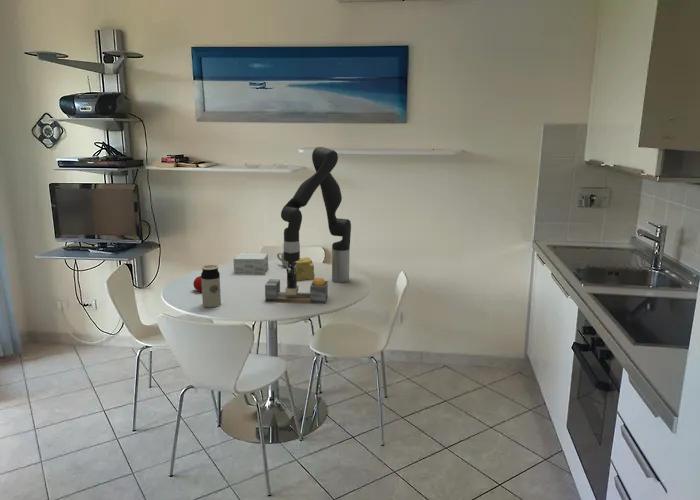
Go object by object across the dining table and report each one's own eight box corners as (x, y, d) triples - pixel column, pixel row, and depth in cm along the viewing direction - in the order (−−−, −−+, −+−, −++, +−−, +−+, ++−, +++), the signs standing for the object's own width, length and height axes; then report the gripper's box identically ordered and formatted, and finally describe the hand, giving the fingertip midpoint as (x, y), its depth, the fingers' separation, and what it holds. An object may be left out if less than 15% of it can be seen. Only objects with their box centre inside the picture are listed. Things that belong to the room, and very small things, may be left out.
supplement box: (268, 269, 296) (268, 253, 294) (264, 275, 283) (264, 258, 281) (239, 268, 296) (238, 252, 294) (233, 274, 283) (233, 258, 281)
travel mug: (202, 303, 237) (200, 265, 233) (219, 301, 240) (218, 263, 235) (203, 308, 230) (201, 269, 225) (221, 306, 232) (220, 268, 228)
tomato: (216, 289, 256) (215, 274, 254) (202, 294, 249) (201, 278, 247) (203, 286, 261) (202, 271, 259) (189, 291, 253) (188, 275, 251)
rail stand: (269, 294, 250) (269, 279, 248) (327, 296, 248) (327, 280, 246) (265, 301, 240) (264, 285, 238) (325, 303, 238) (325, 287, 237)
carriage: (288, 289, 247) (287, 272, 245) (298, 290, 247) (298, 273, 245) (285, 294, 240) (285, 276, 238) (296, 294, 240) (295, 277, 238)
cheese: (314, 279, 277) (314, 261, 274) (295, 281, 273) (295, 263, 270) (308, 274, 286) (308, 256, 284) (290, 276, 282) (289, 258, 280)
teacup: (303, 265, 303) (303, 252, 301) (292, 270, 294) (291, 256, 292) (285, 262, 310) (284, 249, 308) (273, 266, 301) (272, 252, 299)
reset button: (314, 286, 245) (314, 277, 244) (324, 286, 244) (325, 278, 244) (313, 289, 240) (313, 281, 239) (323, 290, 240) (323, 281, 239)
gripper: (286, 246, 246) (286, 281, 250) (280, 253, 232) (281, 290, 236) (302, 246, 245) (302, 281, 249) (297, 253, 232) (297, 290, 236)
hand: (291, 285), depth 243 cm, fingers closed on carriage, 3 cm apart
